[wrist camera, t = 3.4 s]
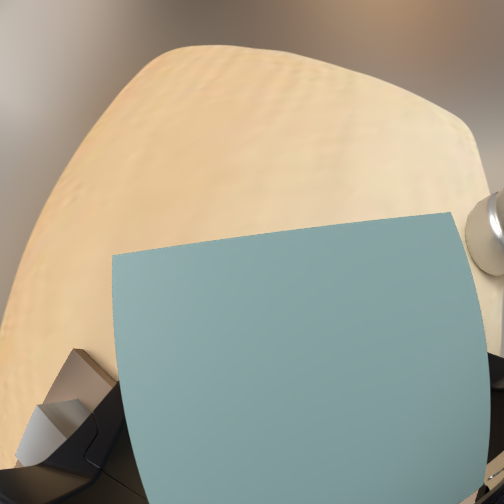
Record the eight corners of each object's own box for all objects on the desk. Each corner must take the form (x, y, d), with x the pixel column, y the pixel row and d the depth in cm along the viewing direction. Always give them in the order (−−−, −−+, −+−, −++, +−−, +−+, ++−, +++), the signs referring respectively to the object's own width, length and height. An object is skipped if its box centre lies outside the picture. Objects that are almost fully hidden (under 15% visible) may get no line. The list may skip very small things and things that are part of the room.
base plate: (194, 441, 13) (172, 475, 8) (96, 550, 8) (70, 576, 3) (83, 349, 14) (32, 343, 10) (17, 479, 9) (-19, 490, 4)
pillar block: (315, 400, 14) (483, 485, 2) (229, 415, 14) (183, 577, 1) (301, 319, 16) (450, 212, 4) (216, 332, 15) (111, 255, 3)
